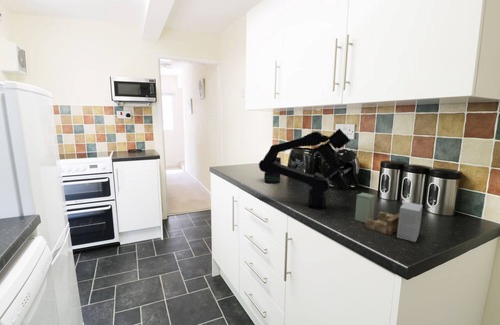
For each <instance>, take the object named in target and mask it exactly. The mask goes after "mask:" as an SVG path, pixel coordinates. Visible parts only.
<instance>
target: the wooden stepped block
mask: <svg viewBox="0 0 500 325" xmlns="http://www.w3.org/2000/svg"><path fill="white" fill-rule="evenodd" d="M398 222H399V212H398V213H396V214H392V213H388V212H384V211H380V212H379V213H378V219H377V220H374V219H373V220H372V219H369V218H368V219H366V223H365V228H366V229H370V230H372V231H376V232H379V233H382V234H385V235H389V236H391V235H393V234H394V233H395V232H397V230H398Z"/></svg>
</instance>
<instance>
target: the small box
mask: <svg viewBox="0 0 500 325" xmlns="http://www.w3.org/2000/svg"><path fill="white" fill-rule="evenodd" d="M398 213H399V222H398V230H397V231H396V232H397V233H396V238H398V239H402V240H404V241H405V240H406V241H410V242H412V243H416V242H417V239H418V237H419V234H420V229H421V223H422V215H423V214H422V213H423V204H418V203H414V202H413V203H412V202H409V201H408V202H407V201H403V202H402V205H401V206H400V207H399V212H398Z"/></svg>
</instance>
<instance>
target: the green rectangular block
mask: <svg viewBox="0 0 500 325" xmlns="http://www.w3.org/2000/svg"><path fill="white" fill-rule="evenodd" d="M375 202H376V195H375V194H371V193H365V192H361V193H359V194H356V201H355V215H354V220H355V221H358V222H362V223H365V224H366V219H368V218H369V219H372V220H374V217H375V215H374V214H375V204H376V203H375Z"/></svg>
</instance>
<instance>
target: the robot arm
mask: <svg viewBox="0 0 500 325" xmlns="http://www.w3.org/2000/svg"><path fill="white" fill-rule="evenodd" d="M350 142H351V139H350V137H349V136H347V134H346V133H344V132H343V130H342V129H341V128H338V129H337V130H336V131H334V132H333V133H332V134H331V135H330V136H328V135H324V134H323V133H321V132H320V131H318V130H317V131H312V132H310V133H308V134H306V135H304V136H302V137H299V138H296V139H293V140H288V141H285V142H281V143H278V144H276V143H275V144H272V145H271V146H270V148H269V150H268V151H267V153H266V154H265V155H264V156H263V159H261V160H260V161H259V163H258V168H259V170H260V171H261V172H263V173H265V172H268V173H278V174H280V176H281V175H282V176H284V177H287V178H290V179H293V180H296V181H299V182H302V183H304V184H307V185H308V186H309V187H310V188H309V192H308V204H306V207H310V208H312V209H316V210H321V209H324V208H327V205H326V204H327V198H326V197H327V196H326V193H324V192H327V191H328V189H329V188H330V184H331V183H330V182H332V183H334V184H336V185H338V186H340V187H341V188H343V189H345V190H349V188H350V187H349V185H348V184H347V182H346V180H345V179H347V180H349V181H350V182H351V183H352V184H354V185H355V186H359V184H360V182H359V180H358V178H357V177H358V176H357V175H356V168H357V163H356V162H355V161H352V160H356V156H357V153H356V152H355V150H354V151H353V149H349V150H348V151H347V150H346V152H345V153H342V154H341V153H337V152H336V151H335V150H336V149H338V150H340V149H341V148H343V147H344V146H345V145H347V144H349V143H350ZM323 143H324V144H323ZM315 146H317V147H315ZM300 147H301V148H302V147H313V151H312V153H313V154H314V155H318V154H319V155H320V157H321V158H322V159H323V160H324V162H323V163H324V165H327V166H328V168H326V170H324V171H323V172H322V174H321V173H319V172H315V173H314V174H309V173H308V172H307V173H306V172H303V171H301V170H298V169H295V168H292V167H288V166H287V165H286V166H285V165H283V164H282V163H281V164H279V163H278V162H277V161H275V159H276V157H278V155H279V153H281V152H285V151H289V150H293V149H296V148H300ZM344 177H345V178H344Z"/></svg>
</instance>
